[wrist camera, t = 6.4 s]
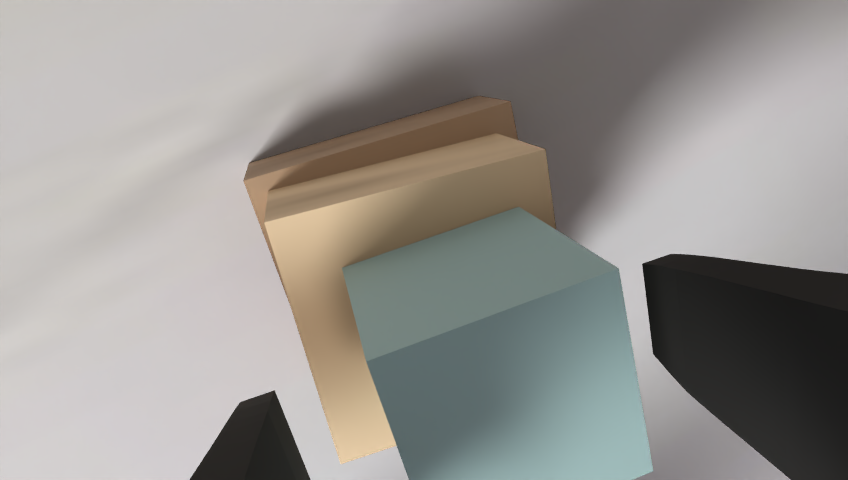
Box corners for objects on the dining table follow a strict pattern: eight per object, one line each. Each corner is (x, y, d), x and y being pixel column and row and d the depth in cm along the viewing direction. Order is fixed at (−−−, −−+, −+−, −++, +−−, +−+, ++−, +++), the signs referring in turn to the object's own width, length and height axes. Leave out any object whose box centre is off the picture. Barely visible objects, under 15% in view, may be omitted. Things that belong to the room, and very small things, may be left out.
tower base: (517, 294, 20) (555, 331, 17) (324, 361, 19) (331, 413, 16) (474, 94, 18) (510, 101, 15) (249, 160, 17) (243, 180, 14)
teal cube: (553, 360, 14) (653, 471, 10) (396, 420, 13) (439, 561, 9) (518, 206, 12) (618, 268, 9) (341, 267, 12) (366, 361, 8)
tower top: (528, 332, 17) (577, 385, 14) (330, 394, 16) (340, 464, 13) (496, 133, 15) (545, 149, 12) (267, 191, 14) (263, 222, 11)
